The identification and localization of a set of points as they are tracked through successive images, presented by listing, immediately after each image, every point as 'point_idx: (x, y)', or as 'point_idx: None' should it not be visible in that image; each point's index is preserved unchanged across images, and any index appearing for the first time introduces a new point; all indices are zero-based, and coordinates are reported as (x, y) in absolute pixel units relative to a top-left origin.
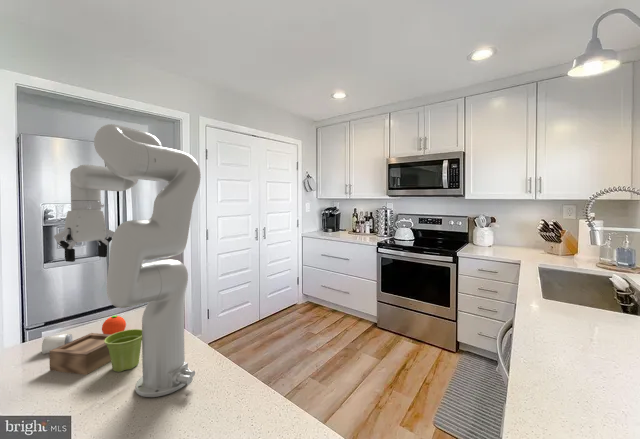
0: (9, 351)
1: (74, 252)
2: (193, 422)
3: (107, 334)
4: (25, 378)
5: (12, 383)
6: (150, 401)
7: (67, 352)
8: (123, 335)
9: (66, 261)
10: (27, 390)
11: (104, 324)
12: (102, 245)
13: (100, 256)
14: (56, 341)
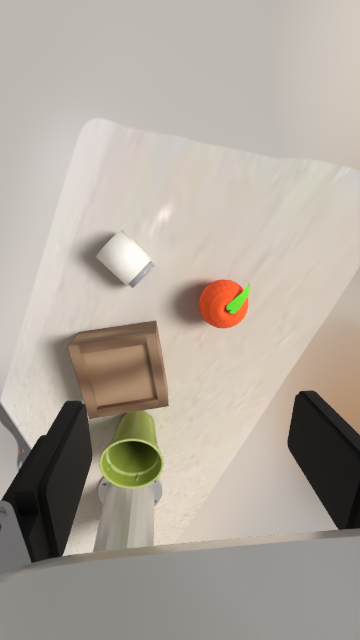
0: (84, 141)
1: (70, 523)
2: None
3: (161, 372)
4: (49, 322)
5: (32, 321)
6: (94, 506)
7: (79, 384)
8: (145, 439)
9: (69, 403)
10: (36, 364)
11: (205, 304)
12: (358, 515)
13: (294, 412)
14: (116, 274)
